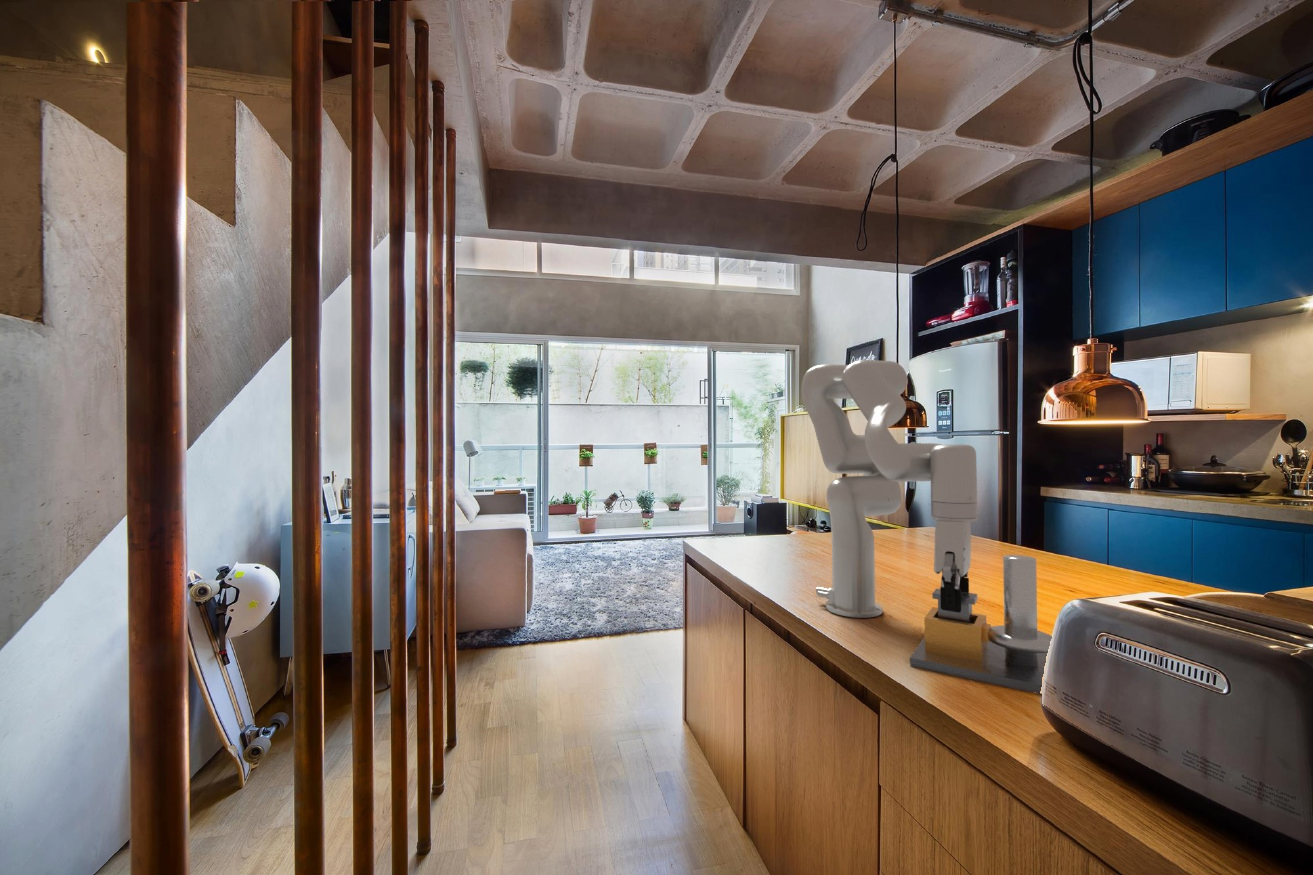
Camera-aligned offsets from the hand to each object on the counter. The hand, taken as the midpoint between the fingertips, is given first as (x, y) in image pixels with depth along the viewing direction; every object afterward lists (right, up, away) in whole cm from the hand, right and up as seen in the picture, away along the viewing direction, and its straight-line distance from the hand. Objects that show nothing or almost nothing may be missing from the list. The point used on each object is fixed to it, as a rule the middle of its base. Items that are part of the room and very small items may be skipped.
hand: (955, 604), depth 101 cm
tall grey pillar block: (0, -8, 0) cm, 8 cm away
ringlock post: (+3, -10, -2) cm, 11 cm away
